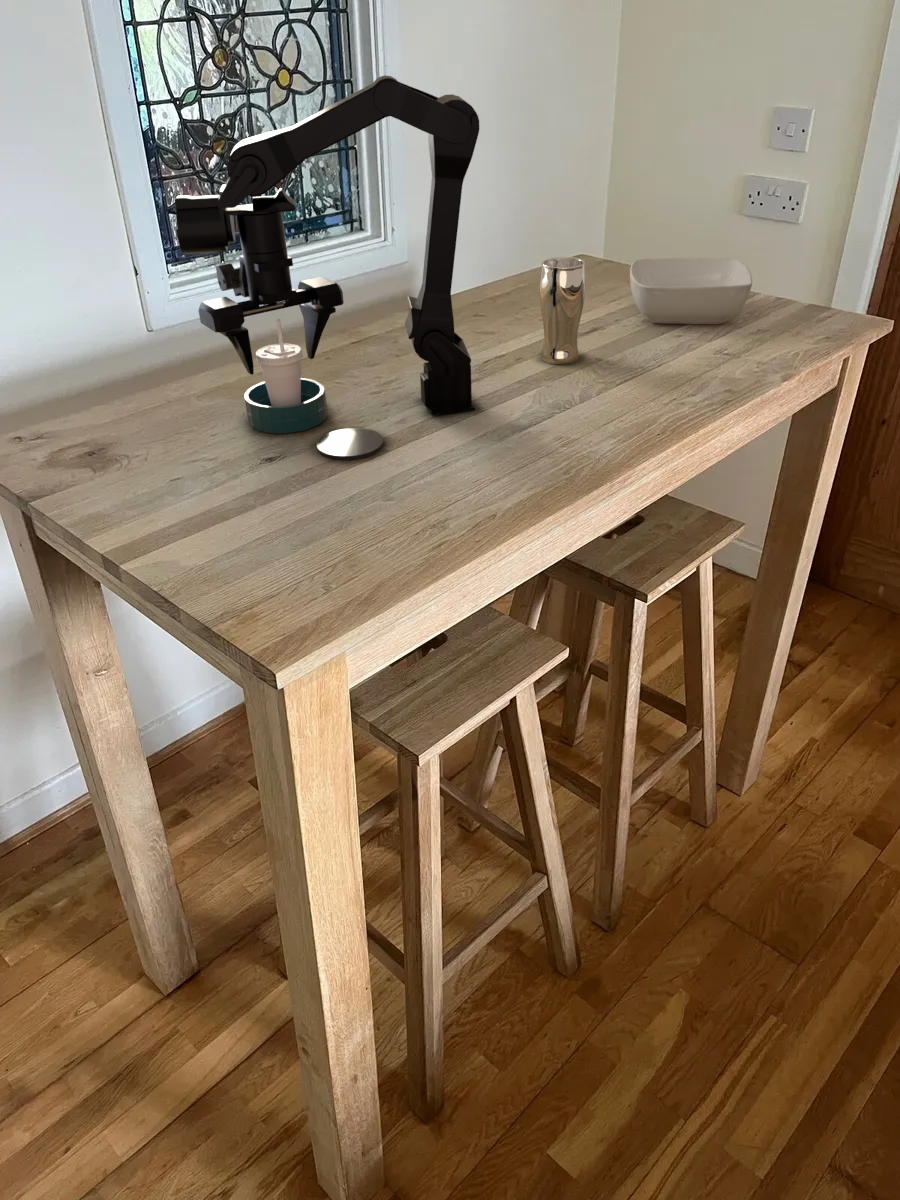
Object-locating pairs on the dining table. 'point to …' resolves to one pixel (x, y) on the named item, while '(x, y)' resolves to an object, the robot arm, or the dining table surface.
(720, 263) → the bowl
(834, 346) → the dining table surface
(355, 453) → the coaster
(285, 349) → the smoothie
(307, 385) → the teal faceted dish
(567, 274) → the beer glass
